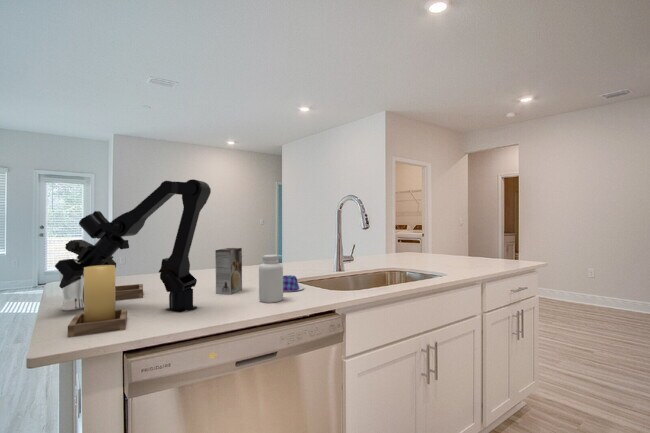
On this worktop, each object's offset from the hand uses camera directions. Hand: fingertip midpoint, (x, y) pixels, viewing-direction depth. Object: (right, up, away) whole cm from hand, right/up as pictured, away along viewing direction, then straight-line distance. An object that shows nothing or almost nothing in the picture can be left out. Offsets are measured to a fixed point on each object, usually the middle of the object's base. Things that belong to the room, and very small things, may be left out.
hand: (70, 285), depth 106 cm
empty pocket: (+8, -7, +16) cm, 19 cm away
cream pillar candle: (+22, -6, -20) cm, 30 cm away
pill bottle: (+61, -7, +9) cm, 62 cm away
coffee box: (+43, -7, +23) cm, 49 cm away
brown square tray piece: (+22, -7, -20) cm, 30 cm away
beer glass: (+1, -7, 0) cm, 7 cm away
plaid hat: (+65, -7, +27) cm, 70 cm away
